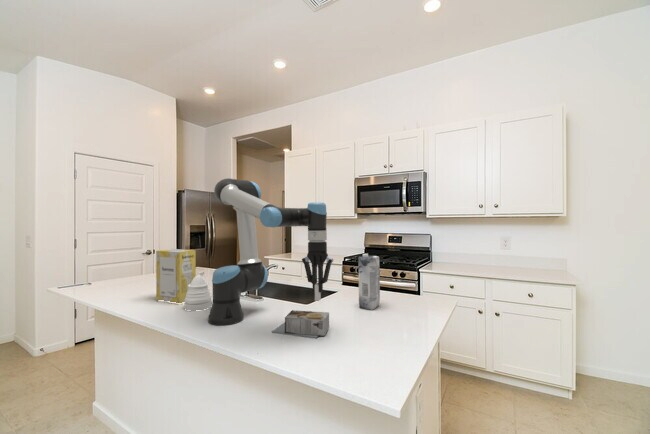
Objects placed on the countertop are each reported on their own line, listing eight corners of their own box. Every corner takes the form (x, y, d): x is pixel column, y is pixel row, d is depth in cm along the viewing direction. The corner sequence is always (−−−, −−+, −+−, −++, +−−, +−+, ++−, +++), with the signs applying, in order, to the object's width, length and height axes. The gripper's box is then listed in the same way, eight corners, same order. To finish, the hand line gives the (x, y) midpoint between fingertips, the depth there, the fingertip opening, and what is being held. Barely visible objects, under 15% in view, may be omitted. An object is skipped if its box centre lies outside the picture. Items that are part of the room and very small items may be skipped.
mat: (271, 332, 118) (271, 331, 118) (287, 321, 131) (287, 320, 131) (316, 338, 111) (316, 337, 111) (328, 325, 124) (328, 325, 124)
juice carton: (381, 305, 153) (381, 253, 153) (373, 311, 144) (372, 255, 144) (365, 303, 158) (365, 252, 158) (356, 308, 149) (356, 254, 149)
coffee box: (329, 327, 121) (292, 325, 125) (329, 312, 121) (292, 309, 125) (324, 336, 112) (284, 333, 116) (324, 319, 112) (284, 316, 116)
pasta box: (156, 301, 165) (156, 250, 165) (172, 296, 175) (172, 249, 175) (179, 304, 158) (179, 252, 158) (195, 299, 168) (195, 250, 168)
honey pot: (202, 302, 161) (202, 269, 162) (216, 306, 154) (216, 271, 154) (179, 308, 151) (179, 273, 151) (193, 313, 143) (193, 275, 144)
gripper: (298, 241, 118) (299, 301, 117) (329, 242, 113) (330, 304, 113) (306, 240, 125) (306, 296, 124) (335, 240, 120) (336, 299, 120)
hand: (317, 300), depth 119 cm, fingers closed
